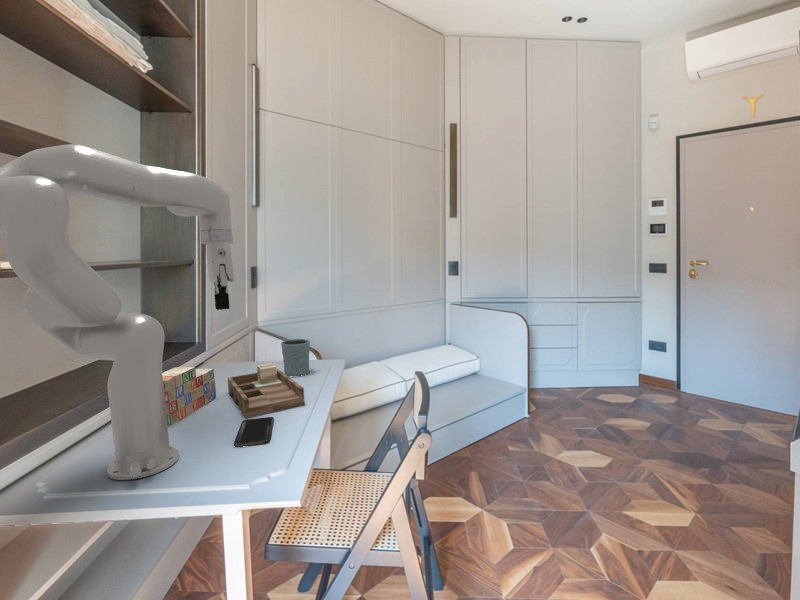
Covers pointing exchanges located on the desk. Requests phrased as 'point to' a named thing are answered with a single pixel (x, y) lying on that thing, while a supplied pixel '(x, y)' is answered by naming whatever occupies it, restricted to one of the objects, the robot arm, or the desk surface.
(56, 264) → the robot arm
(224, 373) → the desk surface
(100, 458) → the desk surface
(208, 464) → the desk surface
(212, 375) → the stack of blocks
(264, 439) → the phone
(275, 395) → the wooden shelf
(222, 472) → the desk surface
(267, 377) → the maple block
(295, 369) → the grey green pot
